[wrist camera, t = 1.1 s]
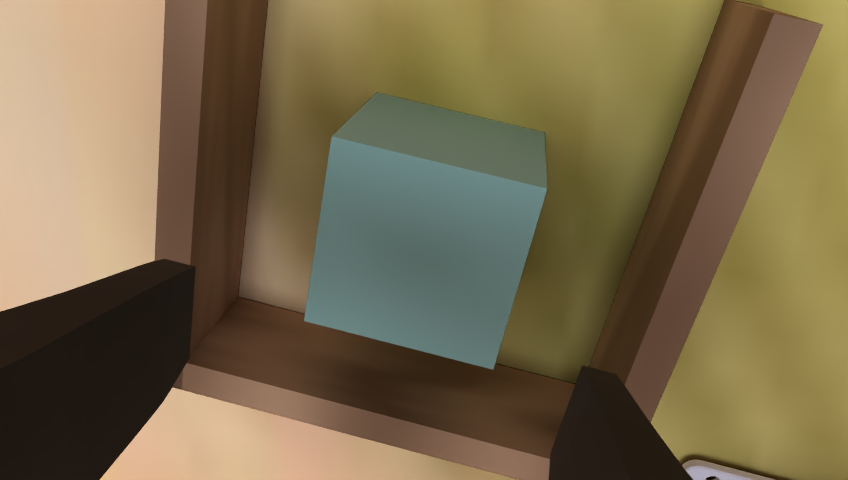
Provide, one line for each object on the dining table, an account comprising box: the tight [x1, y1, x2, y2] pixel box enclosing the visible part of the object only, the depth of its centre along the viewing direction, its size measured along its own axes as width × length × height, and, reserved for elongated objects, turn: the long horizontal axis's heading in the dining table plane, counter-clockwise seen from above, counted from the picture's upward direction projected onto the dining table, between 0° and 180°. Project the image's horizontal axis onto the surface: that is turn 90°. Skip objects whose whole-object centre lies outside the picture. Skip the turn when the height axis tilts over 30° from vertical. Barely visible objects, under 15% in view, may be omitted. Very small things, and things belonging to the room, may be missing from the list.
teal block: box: [304, 93, 547, 369], centre depth 19 cm, size 5×5×5 cm
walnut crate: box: [155, 0, 823, 480], centre depth 19 cm, size 14×14×4 cm
